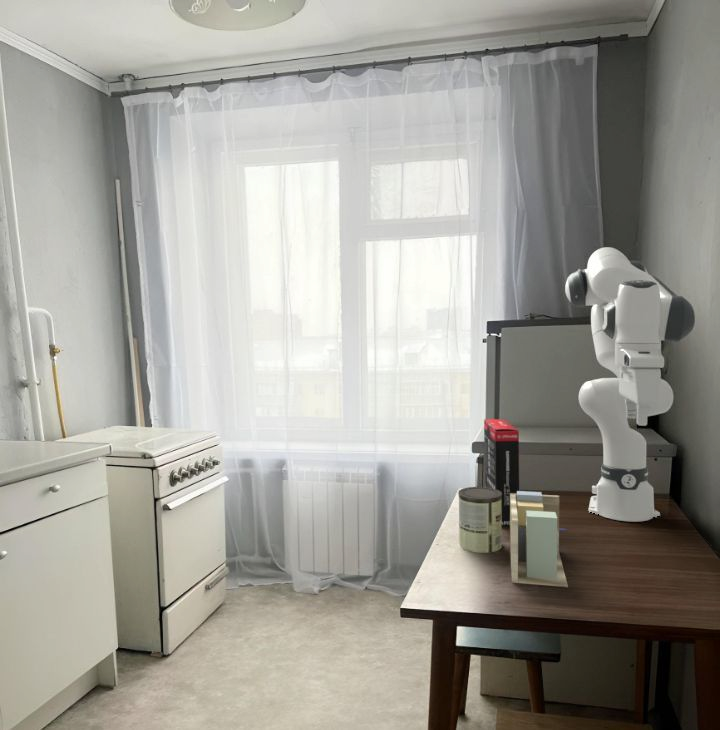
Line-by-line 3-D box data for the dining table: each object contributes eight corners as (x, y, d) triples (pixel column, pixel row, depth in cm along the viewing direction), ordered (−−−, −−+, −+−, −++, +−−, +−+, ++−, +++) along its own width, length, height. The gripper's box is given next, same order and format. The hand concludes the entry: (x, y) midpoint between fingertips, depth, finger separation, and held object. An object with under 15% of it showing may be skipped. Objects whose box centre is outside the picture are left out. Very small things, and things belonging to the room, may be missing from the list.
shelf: (509, 551, 140) (510, 493, 139) (558, 555, 137) (558, 495, 137) (511, 587, 121) (511, 520, 120) (568, 592, 118) (568, 523, 117)
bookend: (517, 554, 135) (517, 520, 135) (541, 555, 134) (542, 521, 134) (517, 561, 131) (517, 526, 130) (543, 563, 130) (543, 528, 129)
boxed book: (525, 569, 127) (525, 510, 126) (555, 571, 125) (555, 512, 124) (526, 577, 123) (526, 516, 122) (557, 579, 121) (557, 518, 121)
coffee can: (460, 540, 148) (460, 485, 147) (502, 543, 145) (502, 487, 144) (456, 555, 138) (456, 496, 137) (501, 559, 135) (501, 499, 134)
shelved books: (516, 549, 138) (516, 490, 137) (540, 551, 137) (541, 492, 136) (517, 560, 132) (517, 499, 131) (543, 562, 130) (543, 500, 130)
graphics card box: (521, 531, 154) (521, 428, 152) (494, 531, 154) (494, 428, 153) (506, 510, 171) (506, 418, 170) (482, 511, 171) (482, 418, 170)
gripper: (612, 354, 135) (611, 414, 136) (631, 359, 115) (630, 429, 116) (641, 354, 134) (640, 414, 135) (666, 359, 114) (665, 430, 115)
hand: (636, 421), depth 125 cm, fingers open, 8 cm apart
